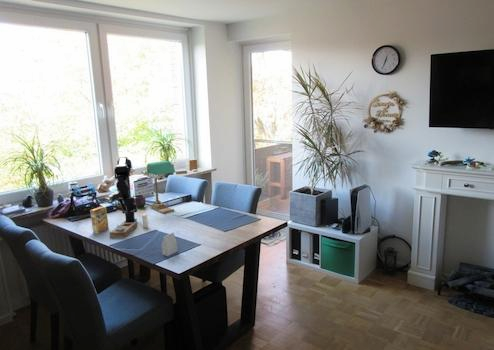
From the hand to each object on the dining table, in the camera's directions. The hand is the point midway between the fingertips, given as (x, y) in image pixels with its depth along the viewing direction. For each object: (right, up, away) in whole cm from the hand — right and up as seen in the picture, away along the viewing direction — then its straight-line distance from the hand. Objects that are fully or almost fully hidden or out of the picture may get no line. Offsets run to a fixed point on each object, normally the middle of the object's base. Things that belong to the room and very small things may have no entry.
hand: (126, 211), depth 232 cm
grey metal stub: (-2, -13, -4) cm, 14 cm away
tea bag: (+33, -18, -32) cm, 49 cm away
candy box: (-17, -13, +5) cm, 22 cm away
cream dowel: (+10, -11, +8) cm, 17 cm away
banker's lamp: (+12, -3, +47) cm, 49 cm away
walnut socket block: (-1, -13, 0) cm, 13 cm away
